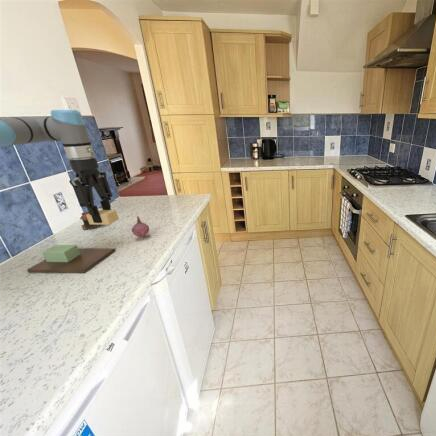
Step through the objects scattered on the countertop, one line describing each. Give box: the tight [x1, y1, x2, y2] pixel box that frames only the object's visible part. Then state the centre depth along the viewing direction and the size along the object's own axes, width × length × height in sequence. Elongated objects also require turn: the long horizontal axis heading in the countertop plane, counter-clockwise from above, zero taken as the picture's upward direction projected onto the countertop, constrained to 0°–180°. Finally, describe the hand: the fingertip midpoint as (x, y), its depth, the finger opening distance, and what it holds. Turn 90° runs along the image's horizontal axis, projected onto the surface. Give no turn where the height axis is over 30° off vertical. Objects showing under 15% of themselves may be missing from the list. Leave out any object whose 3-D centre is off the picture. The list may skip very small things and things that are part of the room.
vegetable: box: [131, 215, 150, 238], centre depth 100 cm, size 6×6×10 cm
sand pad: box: [86, 209, 120, 226], centre depth 93 cm, size 8×5×4 cm, turn 87°
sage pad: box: [41, 244, 80, 262], centre depth 86 cm, size 8×5×4 cm, turn 87°
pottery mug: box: [79, 211, 103, 231], centre depth 115 cm, size 12×10×8 cm
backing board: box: [26, 247, 116, 274], centre depth 87 cm, size 20×14×1 cm
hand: (103, 219), depth 94 cm, fingers closed on sand pad, 5 cm apart
